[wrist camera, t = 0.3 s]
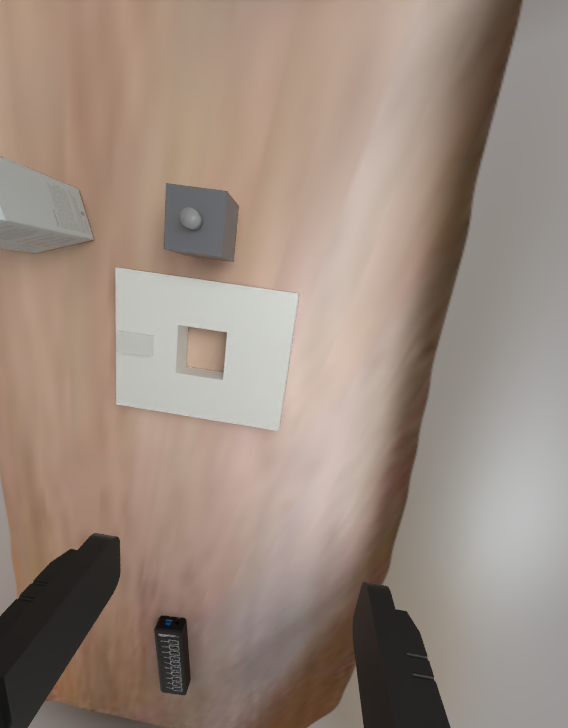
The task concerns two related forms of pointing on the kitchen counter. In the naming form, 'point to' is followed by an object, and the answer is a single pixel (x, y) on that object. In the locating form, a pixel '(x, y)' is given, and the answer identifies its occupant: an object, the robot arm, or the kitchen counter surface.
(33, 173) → the small box
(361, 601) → the robot arm
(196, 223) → the plug
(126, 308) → the socket plate
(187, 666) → the multiport hub
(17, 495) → the kitchen counter surface
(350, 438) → the kitchen counter surface
